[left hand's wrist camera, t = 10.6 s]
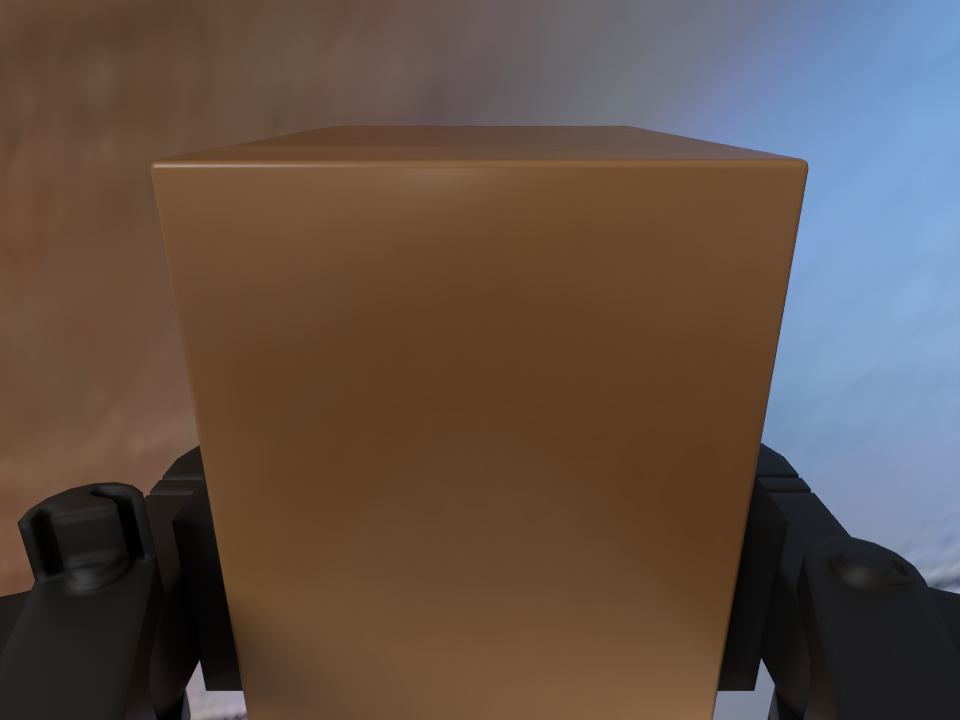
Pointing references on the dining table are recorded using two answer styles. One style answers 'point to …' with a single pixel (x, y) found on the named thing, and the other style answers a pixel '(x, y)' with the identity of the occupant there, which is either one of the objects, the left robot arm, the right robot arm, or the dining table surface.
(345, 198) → the beam
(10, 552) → the dining table surface
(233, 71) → the dining table surface
